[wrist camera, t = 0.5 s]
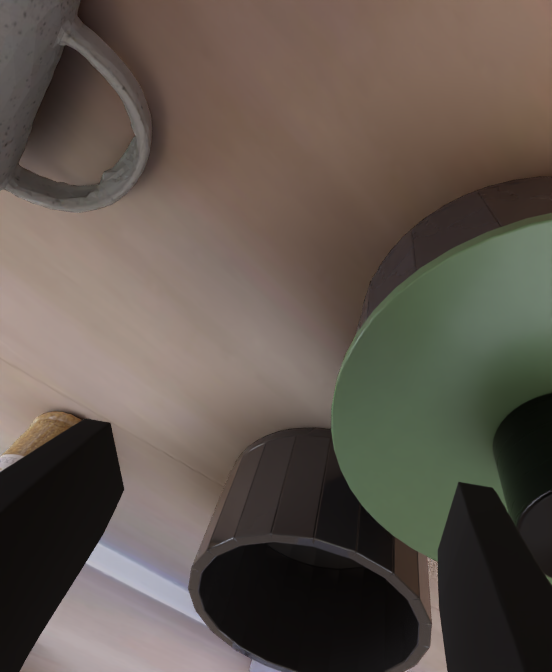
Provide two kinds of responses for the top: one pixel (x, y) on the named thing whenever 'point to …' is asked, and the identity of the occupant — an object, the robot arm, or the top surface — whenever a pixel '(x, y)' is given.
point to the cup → (308, 567)
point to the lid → (455, 390)
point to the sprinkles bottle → (37, 435)
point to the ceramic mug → (29, 89)
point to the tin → (457, 230)
